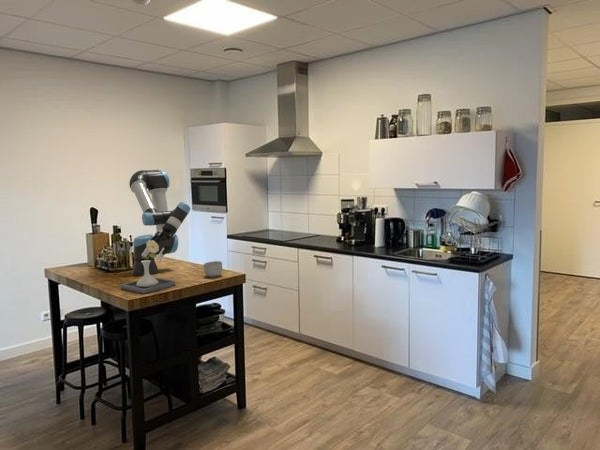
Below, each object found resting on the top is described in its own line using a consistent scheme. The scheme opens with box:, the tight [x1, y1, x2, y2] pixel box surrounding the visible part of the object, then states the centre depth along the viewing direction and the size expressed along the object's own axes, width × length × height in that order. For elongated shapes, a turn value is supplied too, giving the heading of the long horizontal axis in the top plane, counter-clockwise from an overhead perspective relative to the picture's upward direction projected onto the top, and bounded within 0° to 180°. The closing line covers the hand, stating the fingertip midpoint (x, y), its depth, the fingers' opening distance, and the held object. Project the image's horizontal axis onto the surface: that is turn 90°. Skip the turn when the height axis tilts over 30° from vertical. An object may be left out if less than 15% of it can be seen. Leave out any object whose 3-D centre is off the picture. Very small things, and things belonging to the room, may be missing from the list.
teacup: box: [203, 260, 223, 278], centre depth 274 cm, size 14×11×8 cm
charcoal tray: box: [120, 276, 176, 295], centre depth 249 cm, size 20×20×2 cm
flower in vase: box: [136, 240, 159, 287], centre depth 247 cm, size 13×11×25 cm
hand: (150, 257), depth 248 cm, fingers open, 13 cm apart
